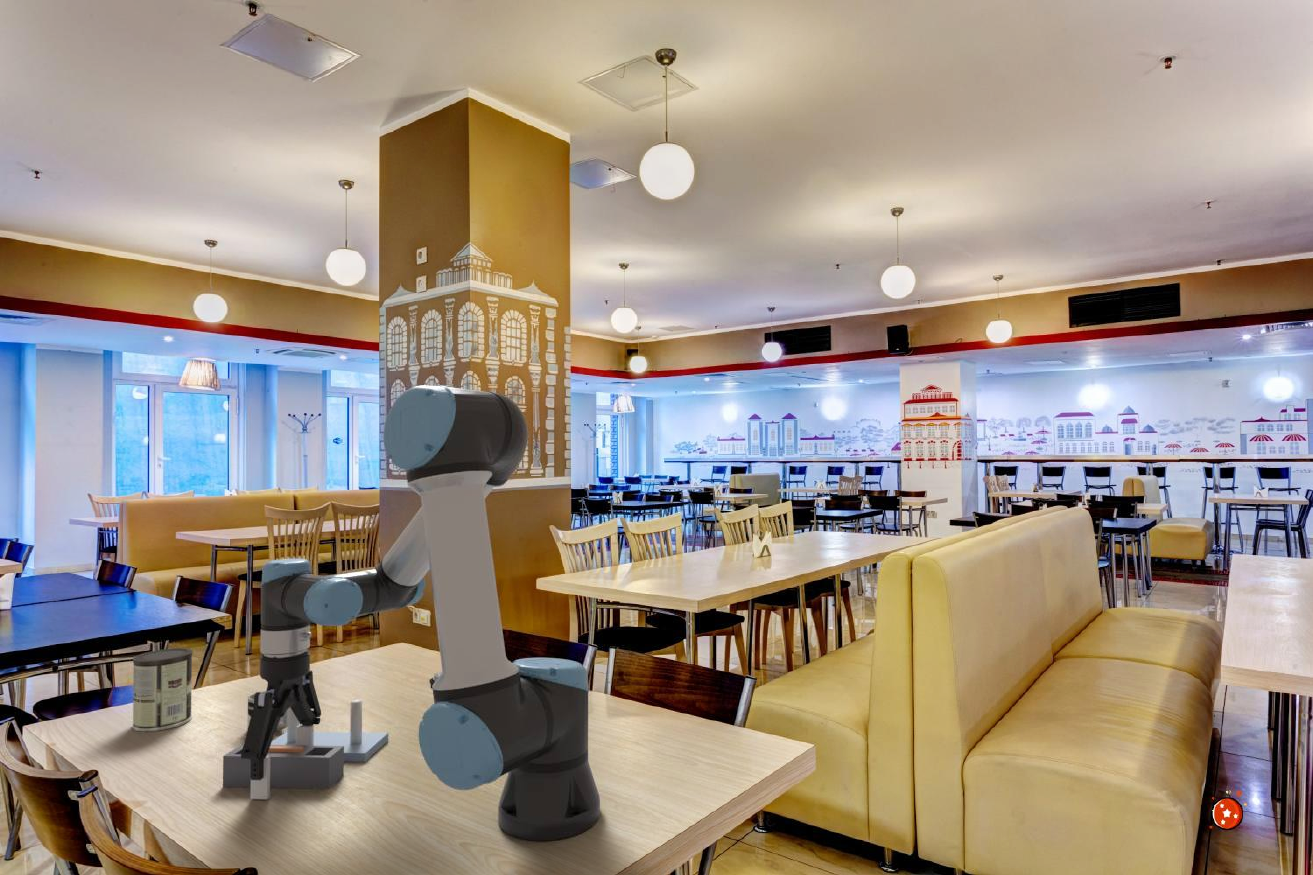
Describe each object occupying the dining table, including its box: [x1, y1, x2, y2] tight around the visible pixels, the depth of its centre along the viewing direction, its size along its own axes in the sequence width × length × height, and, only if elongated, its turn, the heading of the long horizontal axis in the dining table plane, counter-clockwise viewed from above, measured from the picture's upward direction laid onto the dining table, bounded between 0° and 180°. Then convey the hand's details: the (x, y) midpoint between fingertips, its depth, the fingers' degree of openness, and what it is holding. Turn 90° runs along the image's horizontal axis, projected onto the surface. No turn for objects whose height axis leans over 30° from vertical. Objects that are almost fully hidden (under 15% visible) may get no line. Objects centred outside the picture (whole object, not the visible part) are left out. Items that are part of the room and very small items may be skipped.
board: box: [271, 699, 389, 763], centre depth 138 cm, size 10×20×9 cm, turn 87°
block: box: [222, 744, 345, 790], centre depth 124 cm, size 18×5×6 cm, turn 87°
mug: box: [247, 690, 288, 732], centre depth 149 cm, size 10×7×7 cm, turn 62°
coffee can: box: [132, 647, 194, 733], centre depth 153 cm, size 10×10×14 cm
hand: (283, 780), depth 124 cm, fingers open, 13 cm apart
